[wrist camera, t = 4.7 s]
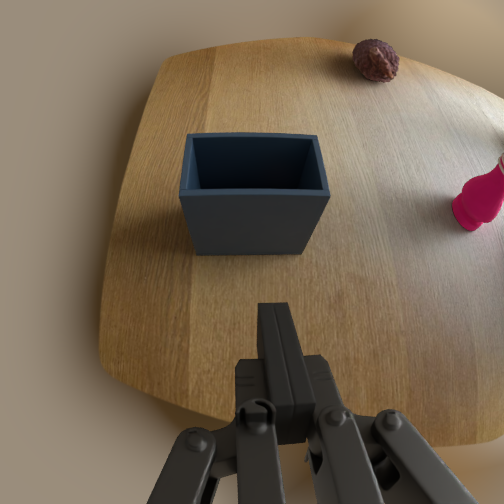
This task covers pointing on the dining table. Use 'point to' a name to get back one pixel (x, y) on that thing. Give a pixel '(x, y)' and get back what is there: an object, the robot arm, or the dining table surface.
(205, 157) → the gray box
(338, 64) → the dining table surface
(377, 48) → the pine cone
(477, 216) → the pepper mill
